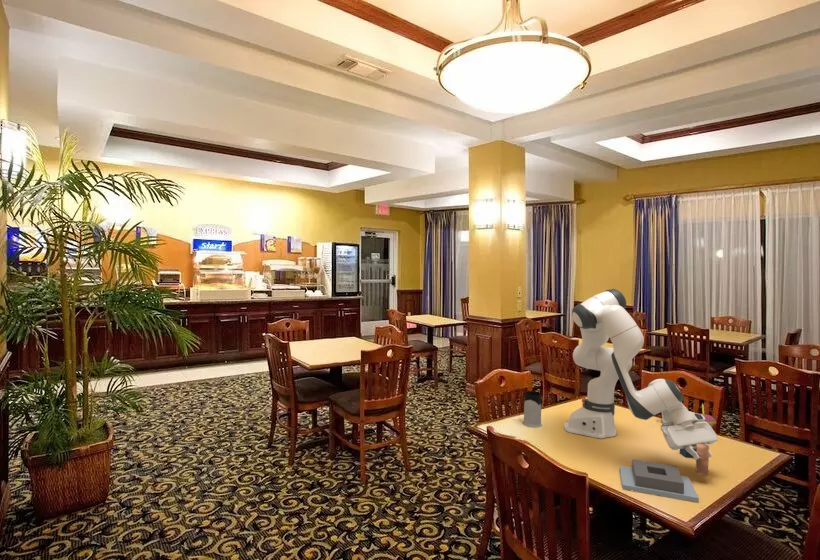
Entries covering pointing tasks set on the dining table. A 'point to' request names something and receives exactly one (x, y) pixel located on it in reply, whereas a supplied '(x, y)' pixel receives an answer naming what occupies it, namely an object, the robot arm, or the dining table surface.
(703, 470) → the brown upright cylinder
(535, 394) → the glass holder
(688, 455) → the watch
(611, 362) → the robot arm
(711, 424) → the cupcake
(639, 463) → the tool stand
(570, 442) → the dining table surface
